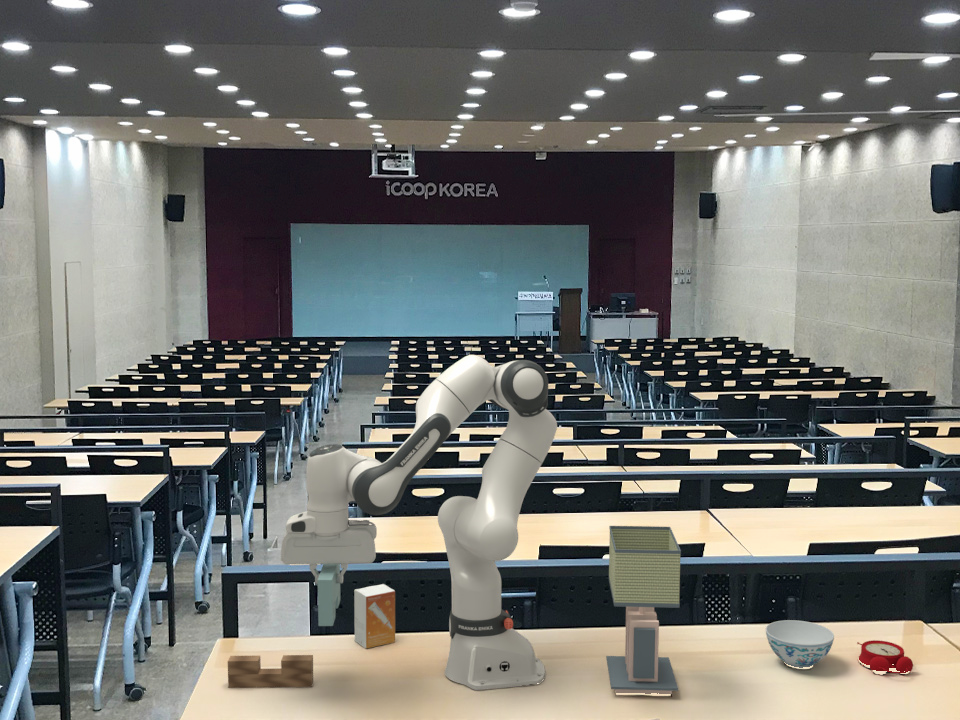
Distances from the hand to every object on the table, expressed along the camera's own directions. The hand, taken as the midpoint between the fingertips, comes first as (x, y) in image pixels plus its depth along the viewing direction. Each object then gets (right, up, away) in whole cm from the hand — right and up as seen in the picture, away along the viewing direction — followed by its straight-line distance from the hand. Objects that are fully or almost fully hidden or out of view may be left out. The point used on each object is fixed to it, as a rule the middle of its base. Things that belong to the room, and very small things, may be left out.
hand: (329, 582), depth 229 cm
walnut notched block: (-13, -23, +2) cm, 26 cm away
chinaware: (+106, -22, +14) cm, 109 cm away
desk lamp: (+68, -23, +4) cm, 72 cm away
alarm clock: (+125, -22, +12) cm, 128 cm away
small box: (+7, -20, +27) cm, 34 cm away
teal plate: (0, -7, +1) cm, 7 cm away
